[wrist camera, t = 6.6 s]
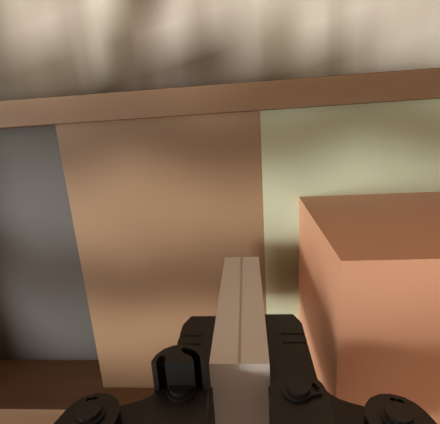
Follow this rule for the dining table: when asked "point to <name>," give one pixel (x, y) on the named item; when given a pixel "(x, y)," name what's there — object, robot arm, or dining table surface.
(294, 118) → the trap box
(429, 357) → the block
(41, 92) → the dining table surface
